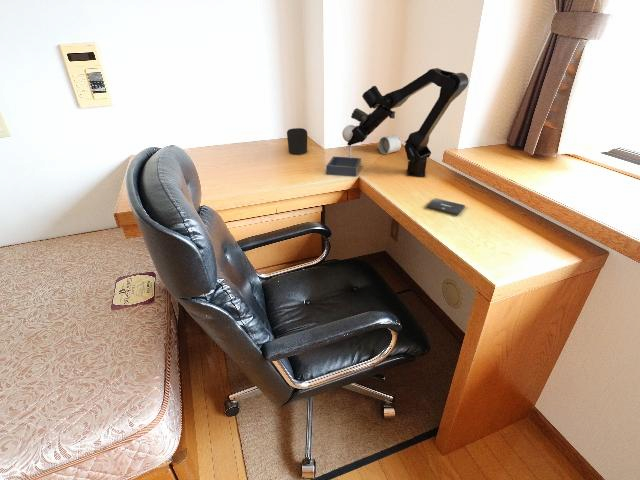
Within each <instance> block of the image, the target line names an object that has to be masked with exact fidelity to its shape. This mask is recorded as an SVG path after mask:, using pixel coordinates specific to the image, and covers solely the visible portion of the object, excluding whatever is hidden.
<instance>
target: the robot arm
mask: <svg viewBox="0 0 640 480" xmlns="http://www.w3.org/2000/svg"><path fill="white" fill-rule="evenodd" d="M431 84H434V85H436V86H437V87H439V88H440V90H439V95H438V98H437V100H436V101H435V103H434V105H433V106H432V108H431V109H430V111H429V113H428V114H427V116H426V118H425V119H424V121H423V122H422V124H421V126H420V127H419V129H418V130H416V131H414V132H411V133H409V135H408V137H407V139H406V140H405V141H404V143H405V144H404V151H405V154H406V158H407V168H406V173H407V176H409V177H419V178H420V177H422V178H425V177H426V168H427V161H428V158H430V157H431V154H432V151H431V150H430V148H429V147H428V144H429V141H430V136H431V134H432V133H433V131H434V130H435V128H436V127H437V125H438V123H439V122H440V120H441V119H442V117H443V116H444V114H445V112H446V111H447V110H448V108H449V106H450V105H451V103H452V102H453V101H454V100H456V99H457V98H458V97H459V96H460V95H461V94H462V93H463V92H464V91H465V90H466V89H467V88H468V85H469V78H468V75H467V74H466V73H464V72H457V73H456V72H452V71H448V70H444V69H441V68H439V67H435V68H430V69H428V70H427V71H426V72H425V73H423V74H422V75H420V76H418V77H416V79H414V80H412V81H411V82H409V83H408V84H406V85H404V86H403V87H401V88H399V89H396V90H393V91H390V92H388V93H385V94H384V95H382V93H381V92H380V91H379V89H378V87H377V85H372V86H371V87H370V88H369V89H367V90H366V91H364V92H363V93H362V95H361V97H362V99H363V100H364V102H365V103H366V105H367V106H368V108H369V109H374V110H373V111H372V112H370V113H369V114H368V113H366V112H365V111H364V110H362V109H360V108H355V109H353V112H352V113H351V116H350V118H351V119H352V120H355V121H357V122H358V125H355V126H356V127H355V128H354V129H353V130H352V133H353V136H352V137H351V139H350V140H349V142H347V143H346V145H347V146H348V147H350V145H351V146H353V145H356V144H358V143H363V142H365V140H366V139H367V138H368V136H369V135H370V134H372V133H373V132H374V131H375V130H376V129H377V128H378V127H380V125H382V124H383V122H385V121H386V120H387V119H388V118H389V119H395V117H396V111H395V110H393V109H396V108H399V107H402V106H403V104H405V103H406V102H407V101H408V99H409V98H410V97H412V96H413V95H415V94H417V93H418V92H420V91H421V90H423V89H424V88H426V87H429V86H430V85H431Z"/></svg>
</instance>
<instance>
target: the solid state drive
mask: <svg viewBox="0 0 640 480" xmlns="http://www.w3.org/2000/svg"><path fill="white" fill-rule="evenodd" d="M465 207H466V204H461V203H458V202H453V201H449V200H445V199H441V198H436V197H435V198H434V199H433V200H431V201H430V202H429V203H428V205H427V208H428V209H432V210H437V211H440V212H443V213H448V214H452V215H455V216H459V215H460V214H461V212H463V210H464V209H465Z"/></svg>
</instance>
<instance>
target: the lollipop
mask: <svg viewBox="0 0 640 480" xmlns="http://www.w3.org/2000/svg"><path fill="white" fill-rule="evenodd" d="M356 126H357V125H354V124H349V125H346V126H345V127H344V128H343V130H342V132H341V133H342V134H341V135H342V138H343V140H344V141H345V142H347V143H348V142H349V140H350V139H351V137H352V136H353V133H352V130H353V129H354V128H355V127H356ZM349 157H350V158H352V145H350V146H349Z"/></svg>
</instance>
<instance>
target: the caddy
mask: <svg viewBox="0 0 640 480" xmlns="http://www.w3.org/2000/svg"><path fill="white" fill-rule="evenodd" d="M361 167H362V158H361V157H351V158H350V156H347V157H346V156H332V157H331V159H330V160H329V162H328V163H327V164H326V175H332V176H333V175H335V176H344V177H345V176H346V177H357V175H358V173H359V172H360V169H361Z"/></svg>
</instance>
